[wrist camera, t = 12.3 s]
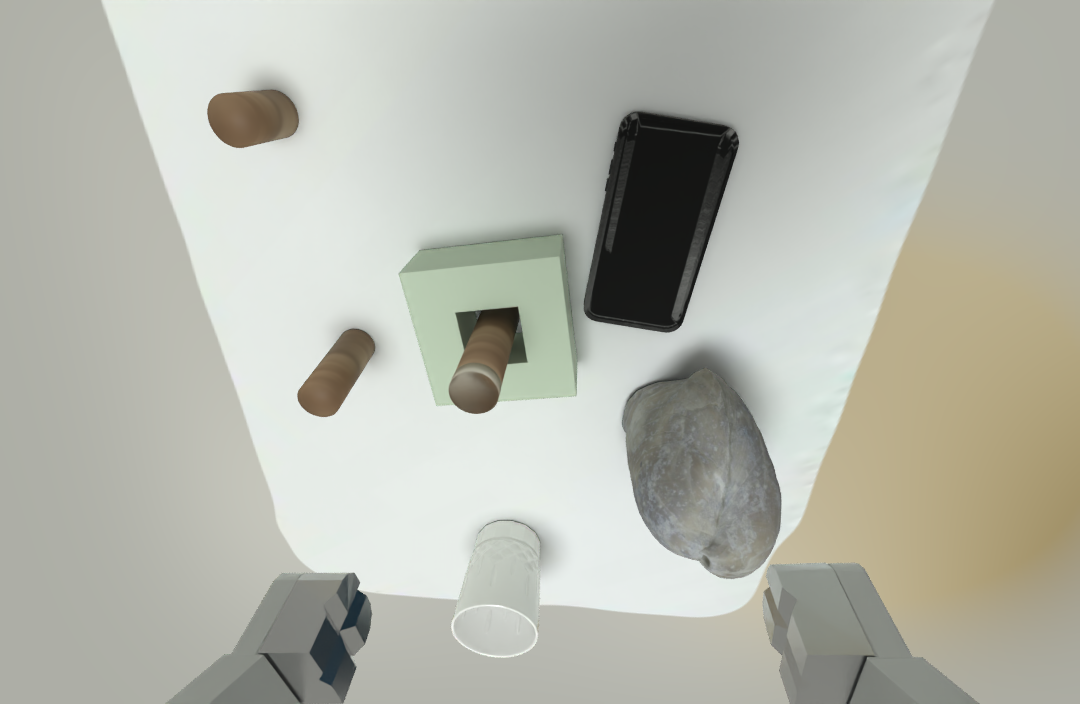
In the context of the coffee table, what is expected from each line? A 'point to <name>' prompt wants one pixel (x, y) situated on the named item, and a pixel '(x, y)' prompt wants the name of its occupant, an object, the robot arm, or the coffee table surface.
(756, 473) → the decorative stone
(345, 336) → the pin medium
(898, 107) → the coffee table surface
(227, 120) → the pin short
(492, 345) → the pin long
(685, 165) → the phone
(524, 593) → the white cup
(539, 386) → the socket block
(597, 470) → the coffee table surface
